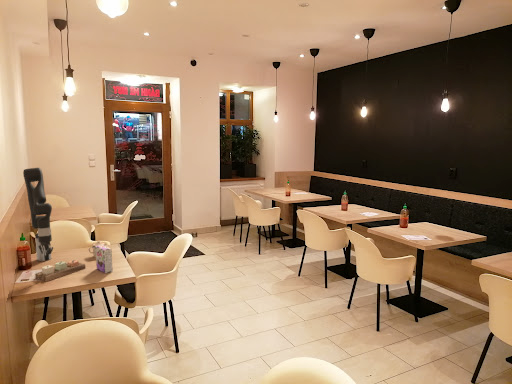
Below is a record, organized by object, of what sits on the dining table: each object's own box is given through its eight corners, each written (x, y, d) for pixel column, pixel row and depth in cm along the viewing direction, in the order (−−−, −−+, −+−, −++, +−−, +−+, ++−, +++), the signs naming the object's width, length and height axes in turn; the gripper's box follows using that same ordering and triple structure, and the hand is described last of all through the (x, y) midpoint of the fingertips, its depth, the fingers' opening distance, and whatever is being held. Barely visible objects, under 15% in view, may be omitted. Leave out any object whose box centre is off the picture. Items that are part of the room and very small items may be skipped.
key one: (42, 273, 249) (41, 267, 249) (49, 271, 254) (48, 264, 253) (46, 274, 247) (46, 268, 246) (54, 272, 251) (53, 266, 250)
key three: (67, 268, 265) (67, 261, 264) (74, 265, 269) (73, 259, 269) (72, 269, 262) (71, 263, 262) (78, 267, 267) (78, 260, 266)
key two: (55, 269, 257) (54, 263, 256) (62, 267, 261) (61, 260, 261) (59, 270, 254) (59, 264, 254) (66, 268, 259) (66, 262, 258)
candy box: (96, 268, 266) (94, 245, 264) (104, 266, 270) (103, 244, 268) (104, 273, 256) (103, 249, 254) (113, 271, 260) (111, 248, 258)
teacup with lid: (106, 253, 301) (105, 239, 300) (105, 257, 293) (104, 242, 291) (90, 254, 298) (89, 240, 297) (88, 258, 290) (87, 243, 288)
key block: (35, 278, 249) (35, 273, 249) (74, 265, 273) (74, 261, 273) (46, 281, 243) (46, 276, 243) (85, 268, 267) (85, 264, 267)
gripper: (32, 234, 247) (35, 260, 249) (45, 236, 240) (47, 263, 242) (44, 231, 253) (46, 257, 255) (56, 234, 246) (58, 260, 249)
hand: (46, 260), depth 249 cm, fingers closed
